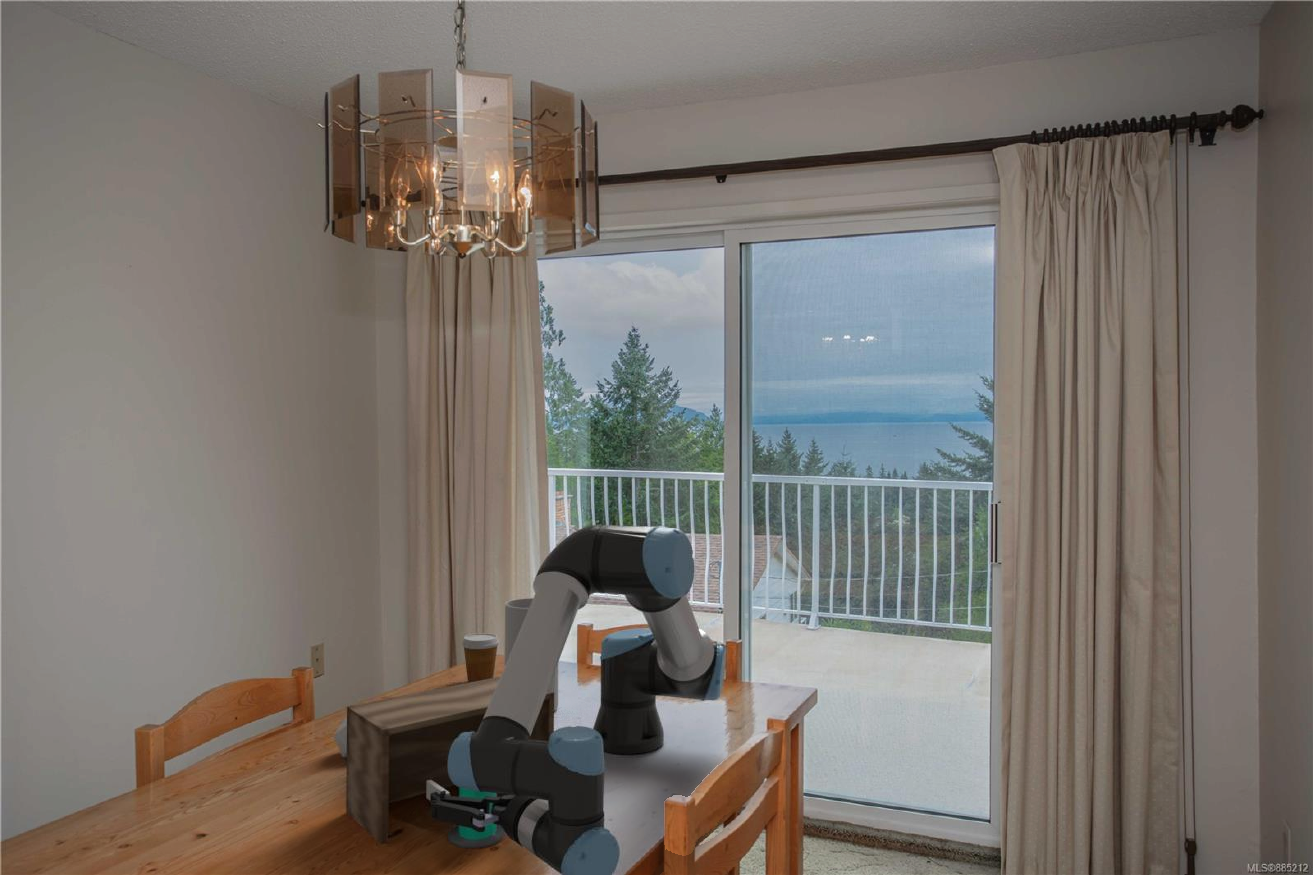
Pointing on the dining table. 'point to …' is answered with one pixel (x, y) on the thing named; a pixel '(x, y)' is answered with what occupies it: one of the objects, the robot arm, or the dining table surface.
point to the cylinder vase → (513, 624)
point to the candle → (489, 828)
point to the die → (342, 738)
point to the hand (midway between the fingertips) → (467, 778)
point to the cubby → (413, 745)
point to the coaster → (469, 843)
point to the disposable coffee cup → (480, 655)
